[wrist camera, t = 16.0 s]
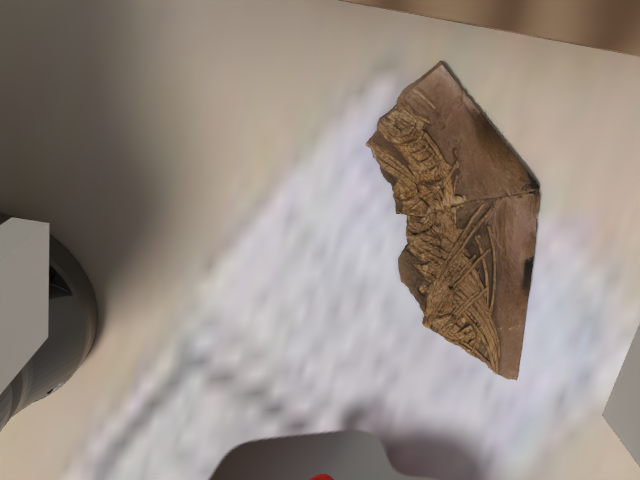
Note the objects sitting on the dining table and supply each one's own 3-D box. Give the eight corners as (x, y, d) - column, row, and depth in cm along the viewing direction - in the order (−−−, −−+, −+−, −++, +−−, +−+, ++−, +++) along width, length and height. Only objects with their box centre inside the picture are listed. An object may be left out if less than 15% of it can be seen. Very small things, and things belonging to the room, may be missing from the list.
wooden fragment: (352, 86, 39) (353, 88, 38) (514, 40, 38) (519, 40, 37) (430, 395, 48) (432, 403, 47) (563, 364, 47) (568, 371, 46)
